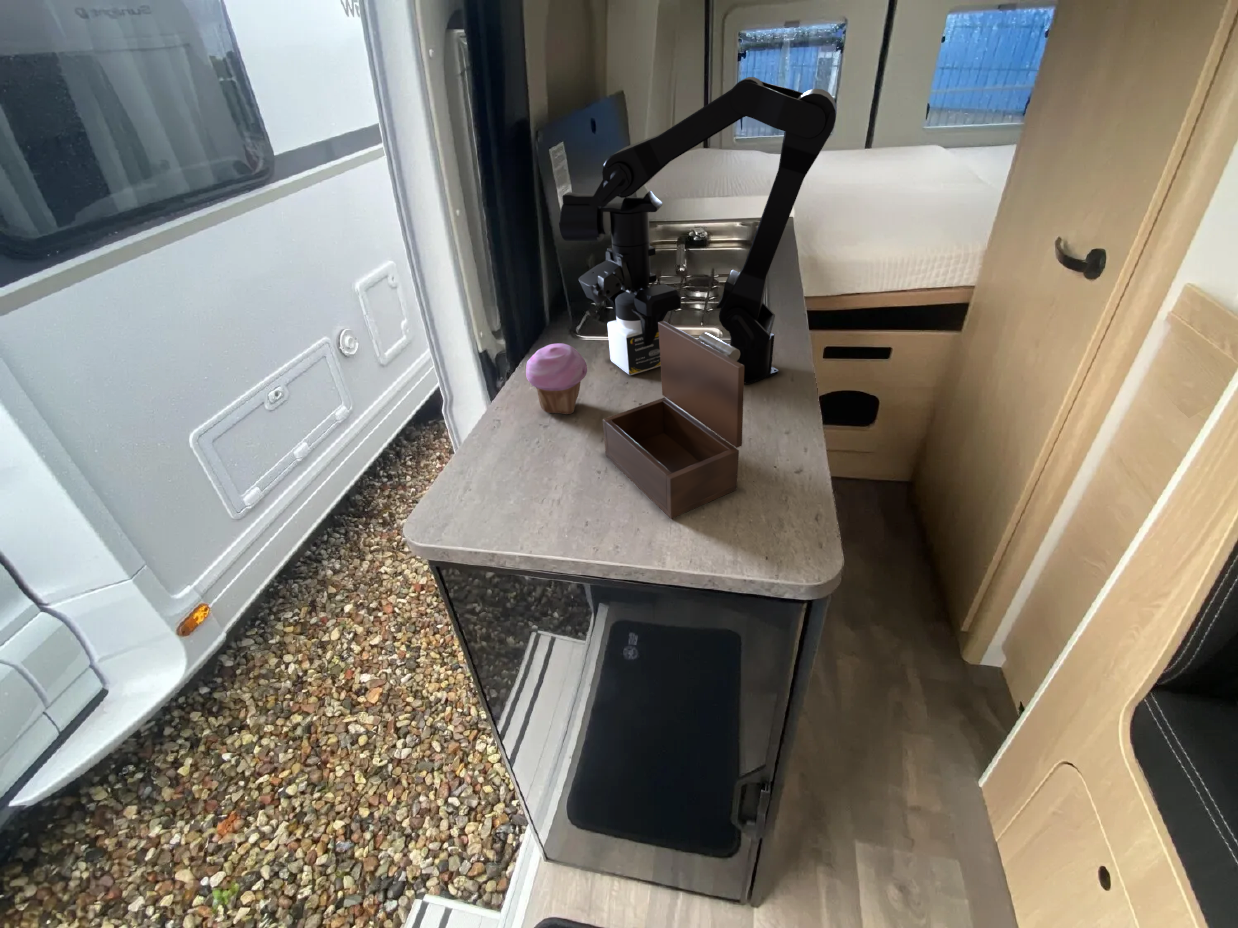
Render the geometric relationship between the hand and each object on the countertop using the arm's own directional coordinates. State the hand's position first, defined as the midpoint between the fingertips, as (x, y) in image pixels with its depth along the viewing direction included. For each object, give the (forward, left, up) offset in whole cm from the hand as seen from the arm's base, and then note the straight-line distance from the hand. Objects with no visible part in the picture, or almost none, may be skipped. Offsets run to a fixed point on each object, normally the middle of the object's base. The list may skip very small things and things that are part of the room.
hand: (635, 338), depth 101 cm
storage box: (+13, +29, -5) cm, 32 cm away
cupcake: (+17, +6, -5) cm, 19 cm away
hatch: (+9, +29, +7) cm, 31 cm away
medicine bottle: (0, 0, -5) cm, 5 cm away
